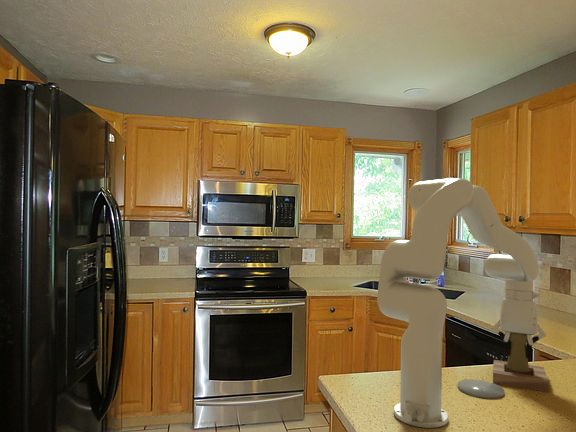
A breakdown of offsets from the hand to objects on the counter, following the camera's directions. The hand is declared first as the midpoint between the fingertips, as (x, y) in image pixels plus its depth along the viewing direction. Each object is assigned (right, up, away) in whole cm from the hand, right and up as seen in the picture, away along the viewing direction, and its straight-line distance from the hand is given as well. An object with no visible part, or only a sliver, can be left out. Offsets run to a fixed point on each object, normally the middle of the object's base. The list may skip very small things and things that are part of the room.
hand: (517, 355), depth 128 cm
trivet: (-15, -7, -9) cm, 19 cm away
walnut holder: (0, -8, 0) cm, 7 cm away
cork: (0, -4, 0) cm, 4 cm away
